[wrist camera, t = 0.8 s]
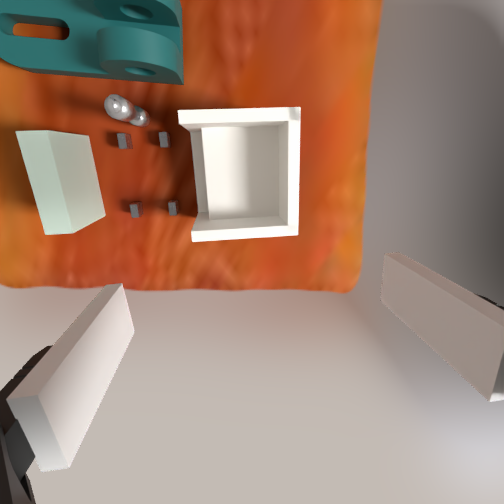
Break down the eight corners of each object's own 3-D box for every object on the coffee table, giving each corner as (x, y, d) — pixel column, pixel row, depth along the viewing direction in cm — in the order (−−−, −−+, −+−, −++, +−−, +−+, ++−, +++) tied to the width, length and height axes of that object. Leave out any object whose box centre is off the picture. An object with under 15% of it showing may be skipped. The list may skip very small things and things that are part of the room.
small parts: (118, 110, 31) (73, 92, 21) (166, 109, 31) (143, 90, 22) (136, 214, 34) (105, 236, 25) (179, 211, 35) (163, 233, 26)
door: (55, 136, 31) (2, 131, 23) (88, 135, 31) (47, 130, 24) (75, 217, 34) (34, 235, 26) (105, 215, 34) (73, 233, 27)
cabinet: (190, 122, 32) (177, 110, 22) (277, 120, 33) (300, 107, 23) (199, 218, 35) (192, 241, 26) (278, 214, 36) (298, 235, 27)
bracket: (182, 9, 29) (168, -41, 21) (183, 85, 31) (172, 64, 23) (-14, -12, 26) (-105, -76, 19) (3, 70, 29) (-72, 42, 21)
